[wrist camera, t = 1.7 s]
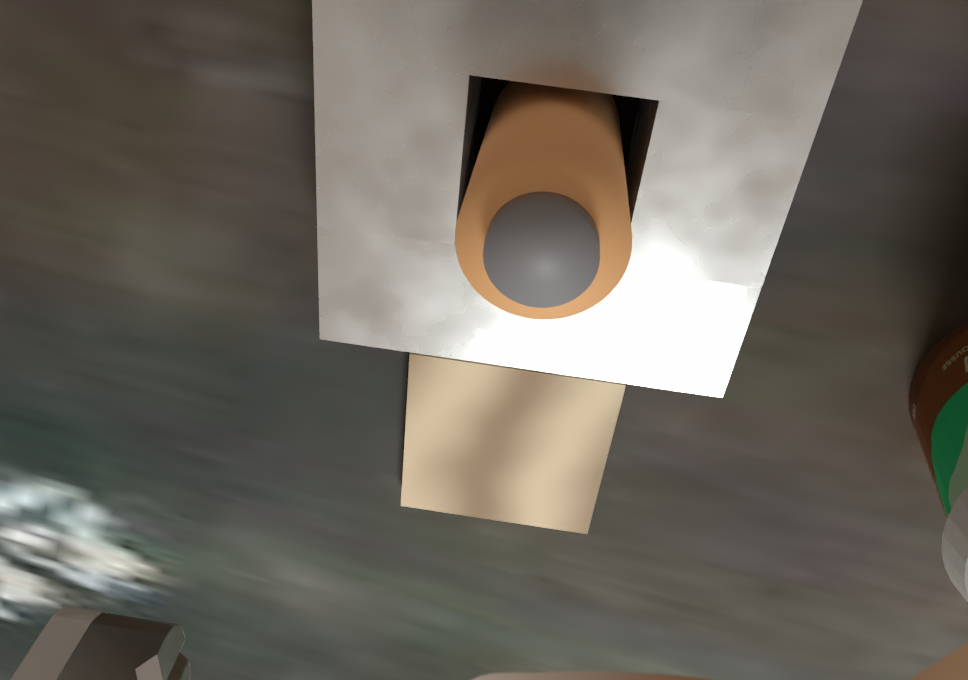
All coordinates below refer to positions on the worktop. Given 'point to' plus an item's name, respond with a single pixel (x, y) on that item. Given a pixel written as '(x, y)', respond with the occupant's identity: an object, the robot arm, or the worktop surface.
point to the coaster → (506, 442)
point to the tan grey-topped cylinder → (547, 203)
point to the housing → (649, 170)
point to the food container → (946, 441)
